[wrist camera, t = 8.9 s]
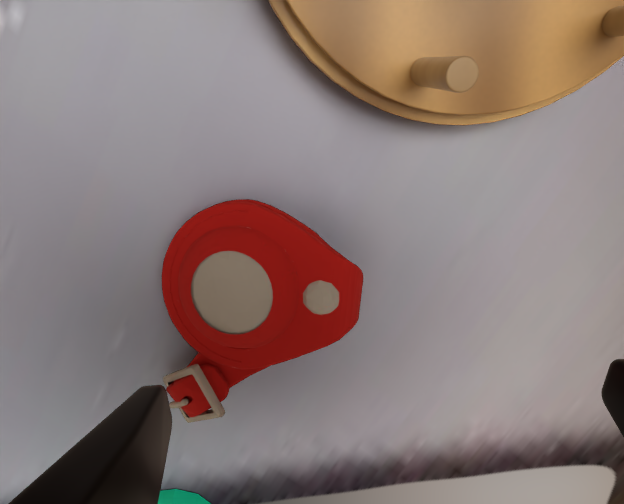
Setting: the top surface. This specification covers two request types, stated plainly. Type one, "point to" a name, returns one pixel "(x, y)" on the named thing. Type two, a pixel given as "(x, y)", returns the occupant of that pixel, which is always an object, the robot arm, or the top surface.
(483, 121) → the rack base
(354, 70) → the drying rack
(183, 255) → the tracker holder
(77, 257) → the top surface
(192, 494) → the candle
